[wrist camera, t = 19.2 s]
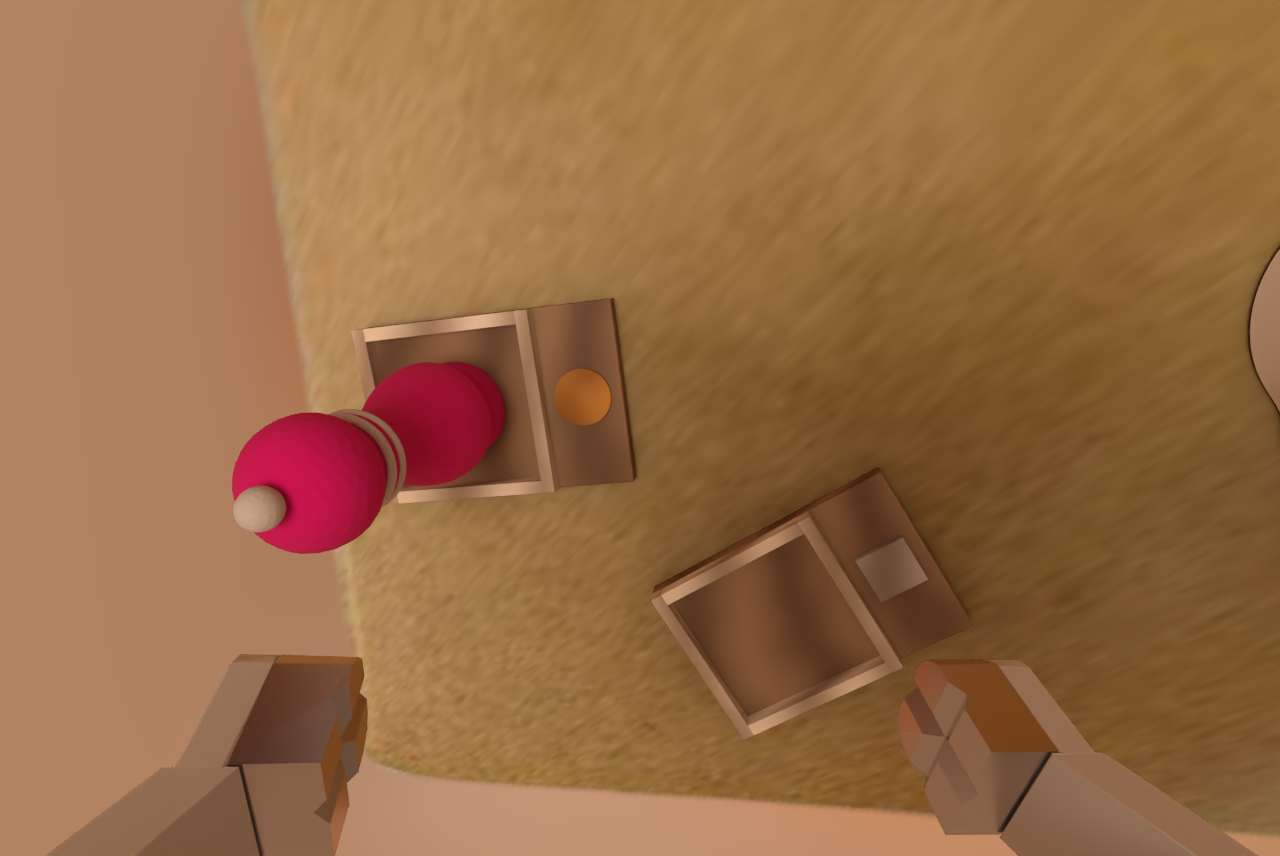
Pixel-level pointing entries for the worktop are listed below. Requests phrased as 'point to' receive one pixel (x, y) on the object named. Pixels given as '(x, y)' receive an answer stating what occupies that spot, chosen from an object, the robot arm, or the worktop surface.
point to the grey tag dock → (811, 606)
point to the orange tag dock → (524, 394)
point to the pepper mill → (364, 455)
